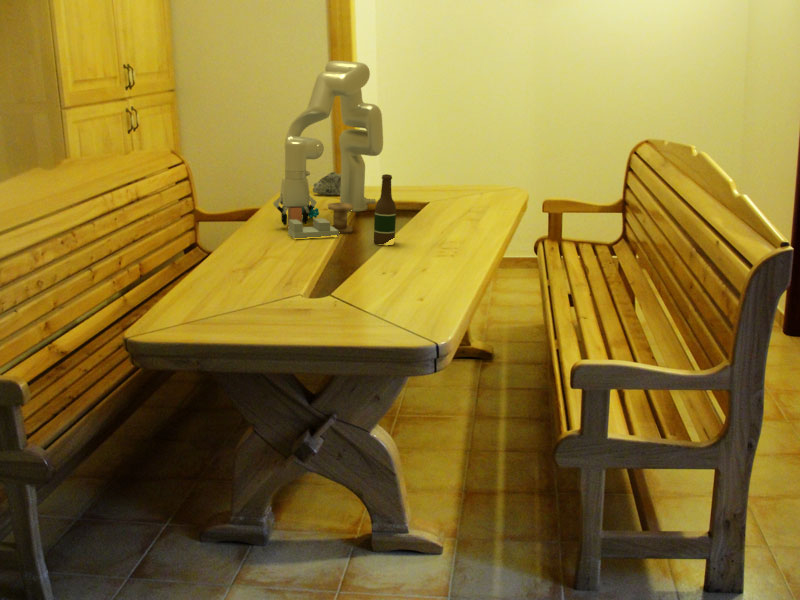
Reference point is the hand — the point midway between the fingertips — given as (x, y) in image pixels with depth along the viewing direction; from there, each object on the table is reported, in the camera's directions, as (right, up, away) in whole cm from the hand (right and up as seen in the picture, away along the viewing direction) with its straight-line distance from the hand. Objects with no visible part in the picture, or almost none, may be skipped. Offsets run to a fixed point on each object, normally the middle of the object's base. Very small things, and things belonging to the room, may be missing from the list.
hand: (294, 223), depth 355 cm
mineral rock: (+8, +17, +62) cm, 65 cm away
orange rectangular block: (0, -2, +1) cm, 2 cm away
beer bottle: (+33, -8, -15) cm, 37 cm away
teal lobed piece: (+2, +2, +15) cm, 15 cm away
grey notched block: (+8, -5, -10) cm, 13 cm away
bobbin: (+16, -3, 0) cm, 17 cm away
